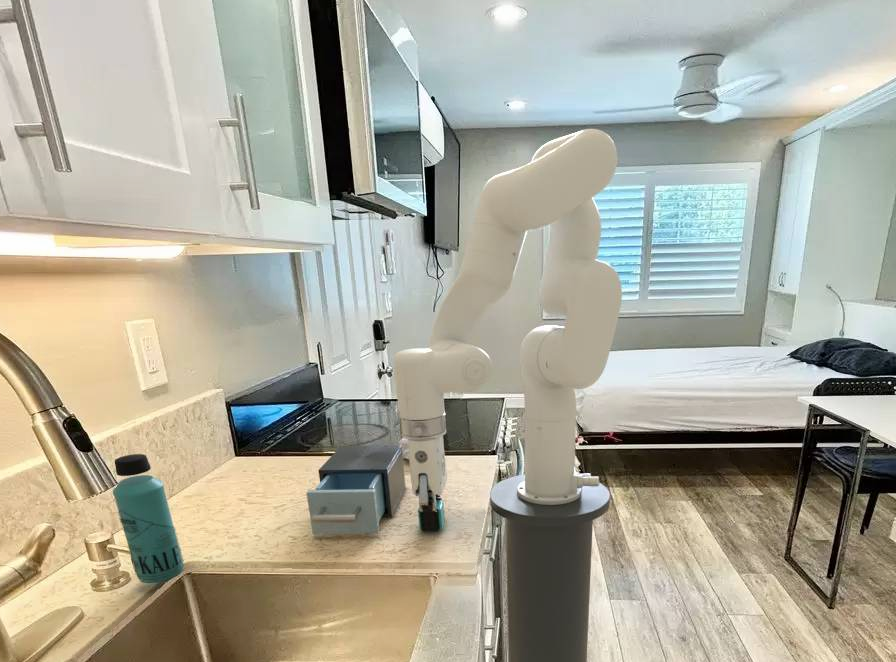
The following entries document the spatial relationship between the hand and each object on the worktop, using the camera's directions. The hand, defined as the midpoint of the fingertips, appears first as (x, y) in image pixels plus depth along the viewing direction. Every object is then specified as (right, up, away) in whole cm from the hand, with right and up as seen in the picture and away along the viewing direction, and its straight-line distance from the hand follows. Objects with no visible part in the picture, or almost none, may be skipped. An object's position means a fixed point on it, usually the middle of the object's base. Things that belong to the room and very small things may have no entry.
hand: (432, 523), depth 102 cm
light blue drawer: (-15, 0, +1) cm, 14 cm away
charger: (-7, +14, +37) cm, 41 cm away
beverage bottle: (-39, -8, -15) cm, 43 cm away
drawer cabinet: (-14, +3, +12) cm, 19 cm away
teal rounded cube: (0, 0, 0) cm, 0 cm away
